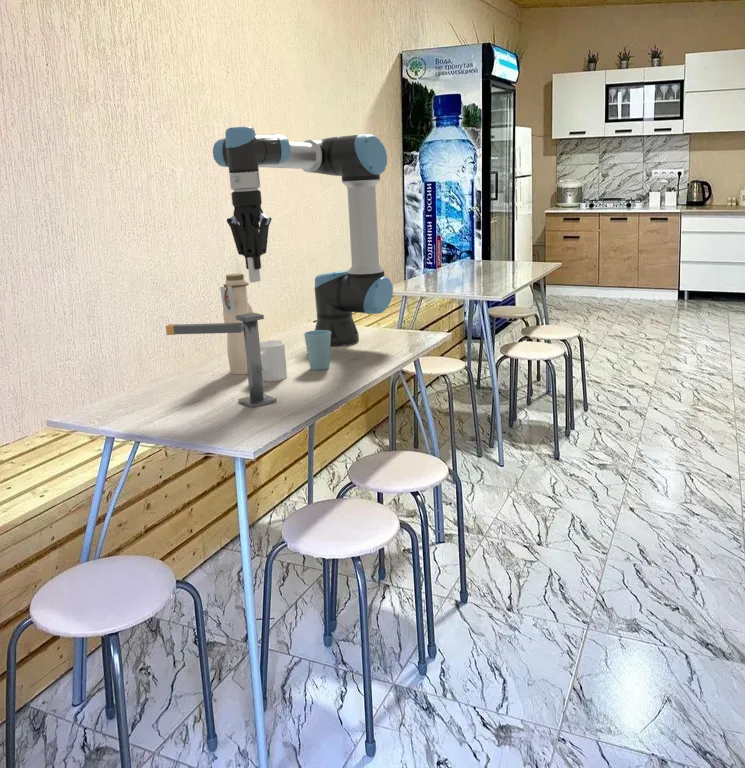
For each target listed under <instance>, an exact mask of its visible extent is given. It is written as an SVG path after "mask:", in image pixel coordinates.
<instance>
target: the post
mask: <svg viewBox="0 0 745 768" xmlns="http://www.w3.org/2000/svg"><path fill="white" fill-rule="evenodd" d="M236 320H239V321H243V330H244V341H245V351H246V362H247V373H248V374H247V384H248V390H249V391H248V392H249V396H246V397H242V398H238V399H237V400H238V403H240V404H242V405H244V406H247V407H248V408H251V409H253V408H257V407H261V406H265V405H269V404H274V403H277V398H275V397H273V396H272V395H267V393H265V391H264V390H265V389H264V381H263V376H262V364H261V353H260V342H261V341H260V334H259V332H260V331H259V323H258V322H259V321H260V320H265V315H264V314H262V313H261V314H260V313H257V312H254V313H248V314H242V315H236Z"/></svg>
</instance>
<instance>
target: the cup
mask: <svg viewBox="0 0 745 768" xmlns="http://www.w3.org/2000/svg"><path fill="white" fill-rule="evenodd" d="M303 336H304V340H305V346H306V352H307V357H308V362H309V367H310V369H311V370H313V371H324V370H327V369H329V368H330V364H331V359H330V358H331V346H330V342H331V331H328V330H315V329H313V330H308V331H306V332H304V333H303Z"/></svg>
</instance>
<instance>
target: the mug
mask: <svg viewBox="0 0 745 768" xmlns="http://www.w3.org/2000/svg"><path fill="white" fill-rule="evenodd" d="M259 342H260V353H261V364H262V376H263V382H265V383H267V382H269V383H270V382H278V381H283V380H285V379H287V378H288V372H287V371H288V370H287V369H288V368H287V362H286V361H287V360H286V345H285V342H284V341H282V340H265V341H259Z"/></svg>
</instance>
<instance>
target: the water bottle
mask: <svg viewBox="0 0 745 768" xmlns="http://www.w3.org/2000/svg"><path fill="white" fill-rule="evenodd" d="M244 275H245V274H244V273H230V274H229V273H228V274H226V275H225V283H224V284H223V285H222V286H220V287H219V290H220V296H221V301H222V308H223V309H222V316H223V317H222V318H223V321H224V322H223V323H243V321H239V320H236V315H242V314H248V313H255V312H254V310H253V307H252V305H251V304H250V303H249V301H248V292H247V286H249V285H250V284H249V283H250V282H247V281H246V279H245V277H244ZM226 335H227V337H226V340H227V341H226V346H227V347H226V348H227V349H226V350H227V358H228V363H229V371H230V374H232V375H233V374H234V375H246V374H247V375H248V373H247V362H246V351H245V341H244V330H243V331H242V332H241V333H226Z"/></svg>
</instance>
